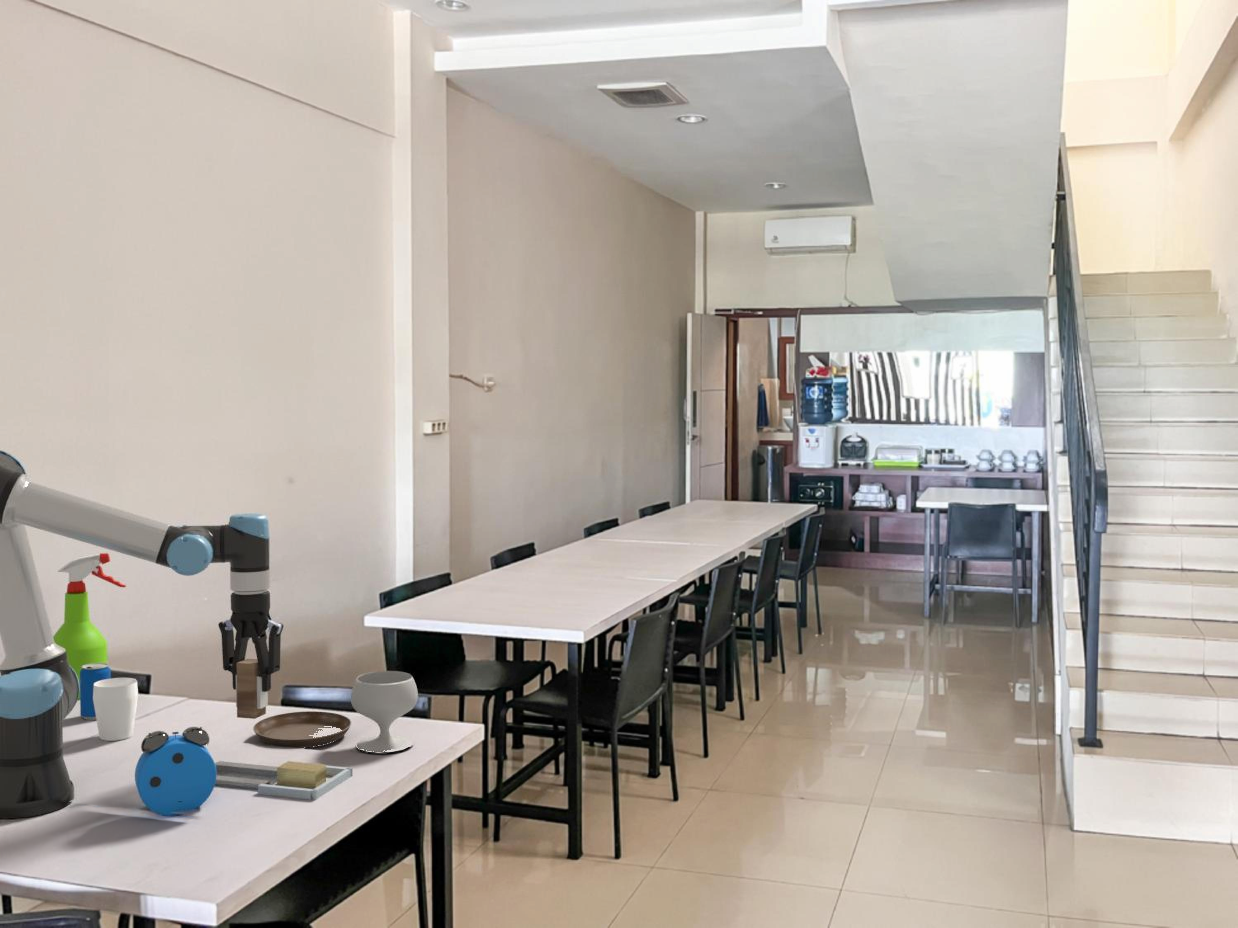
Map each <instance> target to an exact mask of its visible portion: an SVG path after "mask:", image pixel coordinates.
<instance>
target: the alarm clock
mask: <svg viewBox="0 0 1238 928" xmlns="http://www.w3.org/2000/svg"><path fill="white" fill-rule="evenodd" d="M171 734H172V735H169V734H168V733H167V732H165V731H163V730H155V731H152V732H148V734H147V735H146V736H145V737H144V738H143V740H142V741H141V744H140V749H141V752H142V753H141V755H140V756H139V759H138V761H137V763H136V766H135V770H134V781H135V782H134V783H135V787H136V788H137V792H138V795H139V797H140V799H141V801H142V803H143V804H144V805H145V806H146V808H148V809H149V810H151V811H152V812H154V813H156V814H158V815H162V816H167V817H178V816H184V814H182V812H186V811H193V810H197V809H199V807H200V806H202V805H203V804H205V802H206V801H207V800H208V799H209V798H210V796H211V794H212V793H213V791H214V789H215V786H216V785H215V783H216V776H217V772H216V766H215V763H216V762H215V761H214V759H213V756H212V755H211V753H210V752H209V750H208V749H207V747H206V746H209V744H210V736H209V733H208V732H207V731H206V730H205V729H203V727H202V726H200V727H198V726H189V727H187V728H185V729H184V730H183V731H182V733H181V734H179V731H172V733H171ZM179 812H181V813H179Z"/></svg>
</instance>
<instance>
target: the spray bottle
mask: <svg viewBox="0 0 1238 928" xmlns="http://www.w3.org/2000/svg"><path fill="white" fill-rule="evenodd" d="M110 561H111V559H110V555H109V553H107V552H105V553H104V552H103V553H97V554H91V555H86V556H81V557H77V558H75V559H72V560H71V561H69V562H67V564H65V565H64V566H62V567H61V568H59V570H58V571H57V573H67V574H68V583H67V586H66V587H67V588H66V592H65V593H64V617H63V618H64V620H63V621H64V622H63V623H62V624H61V625H60V627H59V628H58V629H57V631H56V632H55V633H54V635H53V638H54V642H55V643H56V644H57V645H59V646H61V647H63V648H65V650H66V654H67V658H68V661H69V665H70V666H71V667H72V668H73V670H74V671H75V672H76V674H77V676H78V679H79V685H80V671H81V670H82V666H83V665H87V664H92V663H106V664H108V665H109V663H108V641H107V640H106V639H105V637H104V635H102V633H101V631H100V630H99V629H98V627H96V626H95V625H94V624H93V623H92V622H91V621H90V609H89V608H90V607H89V592H88V591H87V589H86V588H87V587H86V583H85V582H84V579H86V578H87V577H88V576H90V575H92V576H94V577H97V578H99V579H102V580H104V581H106V582H109V583H111V584H112V585H115V586H116V587H119V588H126V587H127V584H122V583H121V582H120V581H119V580H115V579H114V578H113V576H111V575H106V574H105V573H104V571H103V567H102V566H101V565H105V564H106V563H110ZM78 700H79V701H80V690H79V697H78ZM78 700H77V701H78Z"/></svg>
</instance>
